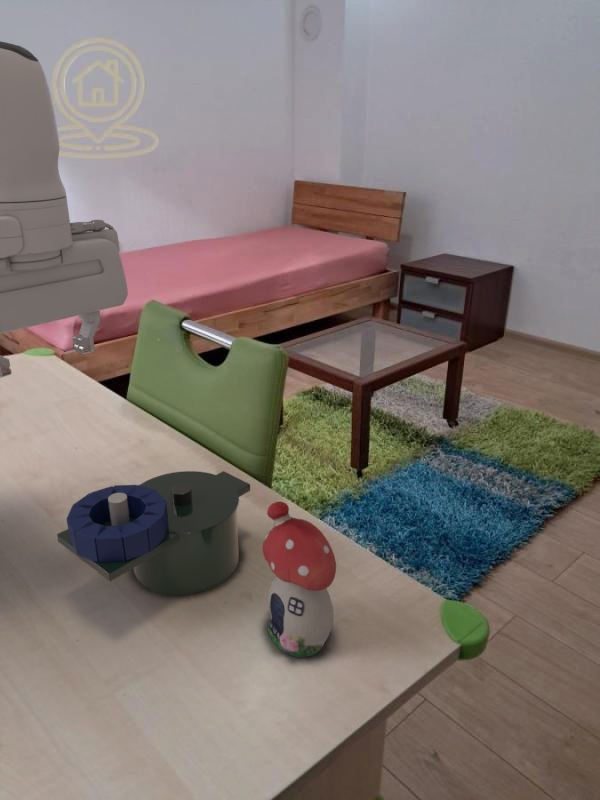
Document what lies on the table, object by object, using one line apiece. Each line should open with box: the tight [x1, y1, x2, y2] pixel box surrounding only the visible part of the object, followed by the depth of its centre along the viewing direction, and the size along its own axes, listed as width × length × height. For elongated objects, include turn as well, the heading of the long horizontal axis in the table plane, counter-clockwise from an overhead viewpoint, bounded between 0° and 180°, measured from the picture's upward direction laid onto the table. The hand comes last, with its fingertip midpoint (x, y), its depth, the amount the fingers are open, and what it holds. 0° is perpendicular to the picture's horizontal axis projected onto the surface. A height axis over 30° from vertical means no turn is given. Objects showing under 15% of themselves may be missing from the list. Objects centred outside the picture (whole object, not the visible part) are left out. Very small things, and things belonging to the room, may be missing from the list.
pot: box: [56, 470, 251, 596], centre depth 75 cm, size 22×14×13 cm, turn 139°
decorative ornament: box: [262, 501, 337, 659], centre depth 66 cm, size 9×7×15 cm
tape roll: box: [66, 484, 168, 563], centre depth 69 cm, size 10×10×3 cm
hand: (44, 363), depth 66 cm, fingers open, 8 cm apart
